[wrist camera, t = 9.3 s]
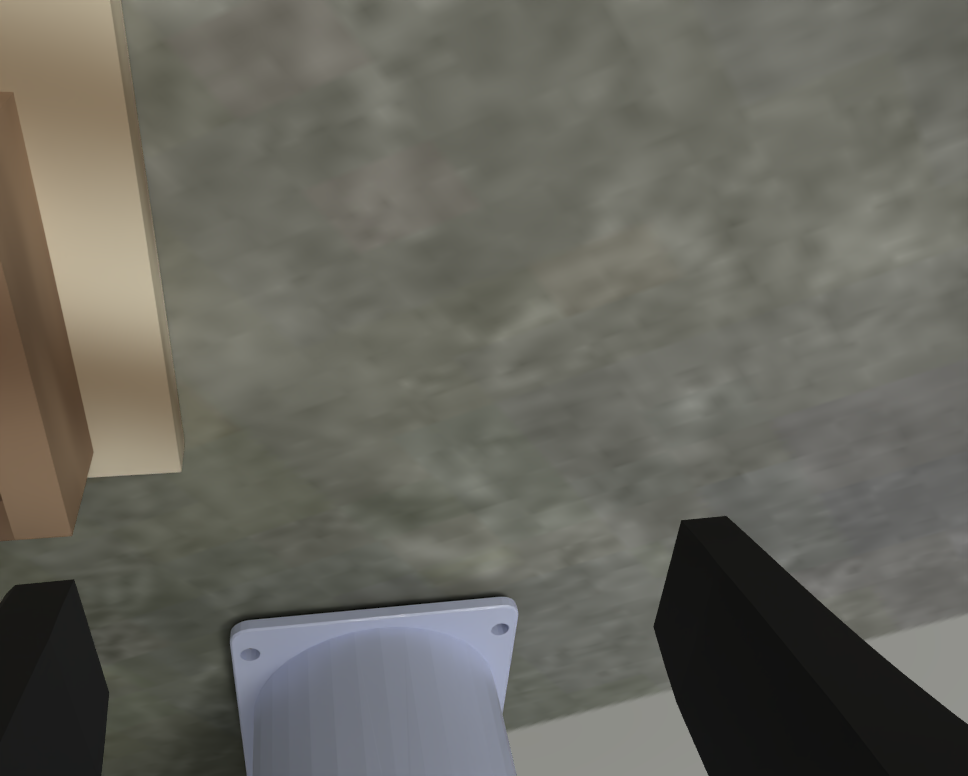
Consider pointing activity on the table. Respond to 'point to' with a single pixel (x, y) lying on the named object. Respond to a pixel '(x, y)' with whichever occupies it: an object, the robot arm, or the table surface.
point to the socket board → (76, 270)
